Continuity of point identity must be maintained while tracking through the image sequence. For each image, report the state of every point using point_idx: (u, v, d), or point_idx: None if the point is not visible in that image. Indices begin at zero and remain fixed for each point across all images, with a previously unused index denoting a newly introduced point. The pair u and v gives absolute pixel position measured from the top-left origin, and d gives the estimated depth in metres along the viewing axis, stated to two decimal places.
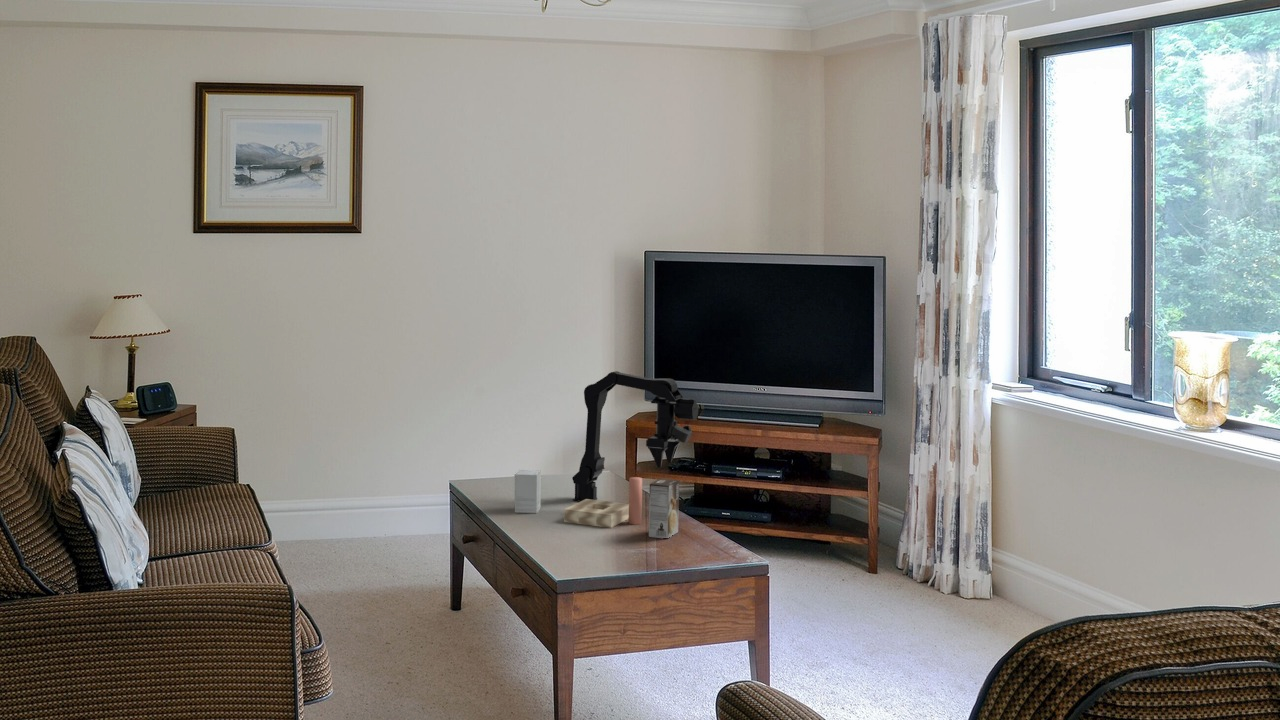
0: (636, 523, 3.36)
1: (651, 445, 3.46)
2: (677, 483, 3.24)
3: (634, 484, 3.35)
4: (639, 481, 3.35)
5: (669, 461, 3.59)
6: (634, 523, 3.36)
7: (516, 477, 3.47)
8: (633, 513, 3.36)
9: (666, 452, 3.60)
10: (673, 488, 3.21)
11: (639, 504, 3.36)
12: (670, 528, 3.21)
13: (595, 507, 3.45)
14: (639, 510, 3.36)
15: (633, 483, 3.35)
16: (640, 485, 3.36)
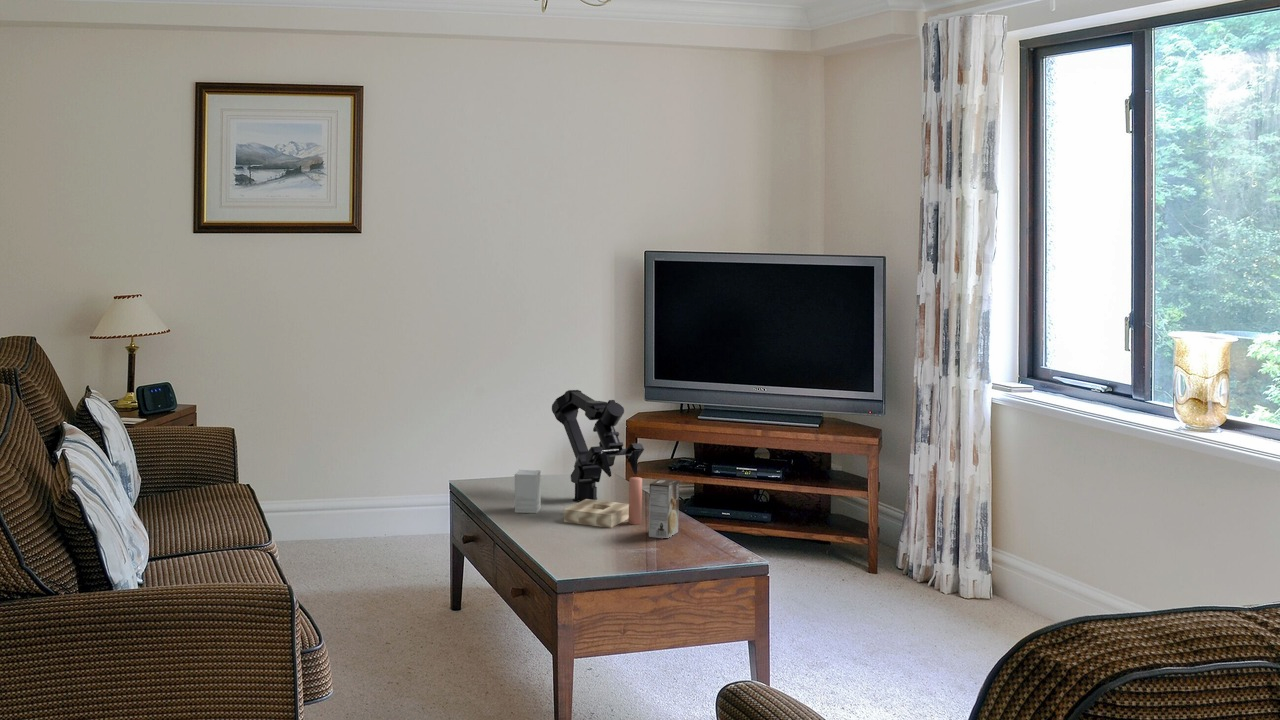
0: (636, 523, 3.36)
1: None
2: (677, 483, 3.24)
3: (635, 484, 3.35)
4: (639, 481, 3.35)
5: None
6: (634, 523, 3.36)
7: (516, 477, 3.47)
8: (633, 513, 3.36)
9: None
10: (673, 488, 3.21)
11: (639, 504, 3.36)
12: (670, 528, 3.21)
13: (595, 507, 3.45)
14: (639, 510, 3.36)
15: (633, 483, 3.35)
16: (640, 485, 3.36)
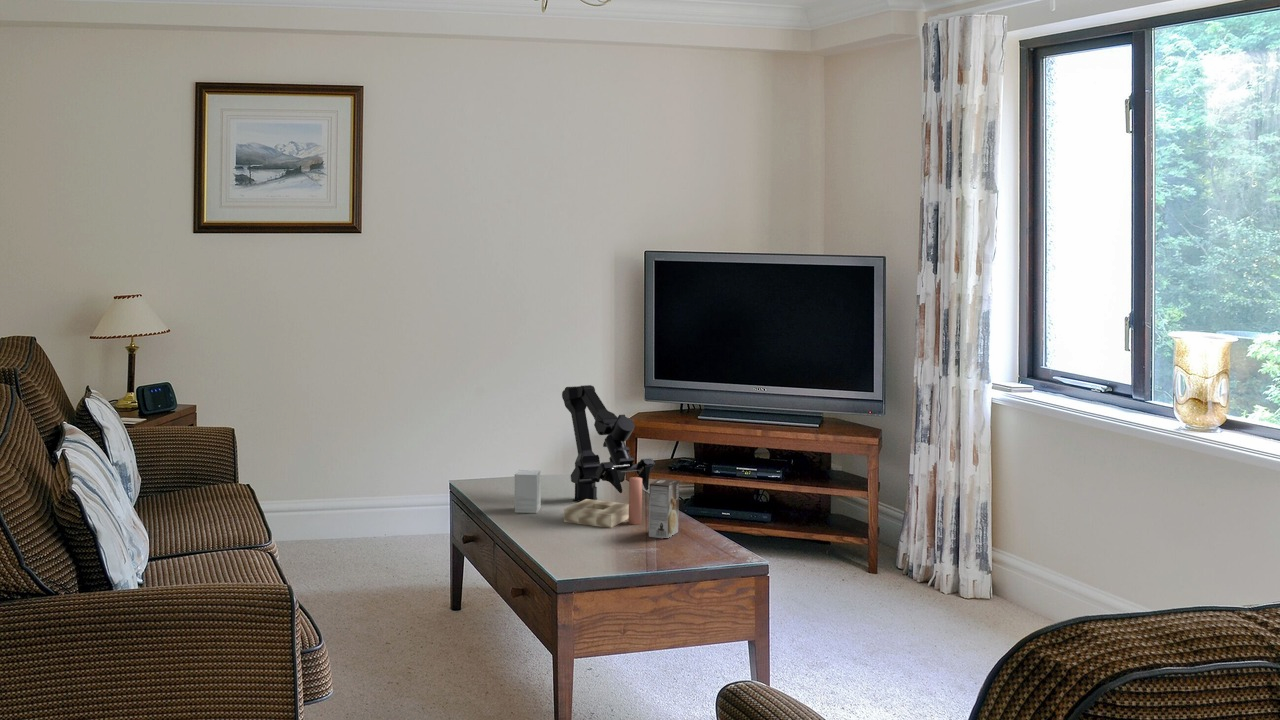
0: (636, 523, 3.36)
1: None
2: (677, 483, 3.24)
3: (634, 483, 3.35)
4: (639, 481, 3.35)
5: None
6: (634, 523, 3.36)
7: (516, 477, 3.47)
8: (633, 513, 3.36)
9: None
10: (673, 488, 3.21)
11: (639, 504, 3.36)
12: (670, 528, 3.21)
13: (595, 507, 3.45)
14: (639, 510, 3.36)
15: (633, 483, 3.35)
16: (640, 485, 3.36)
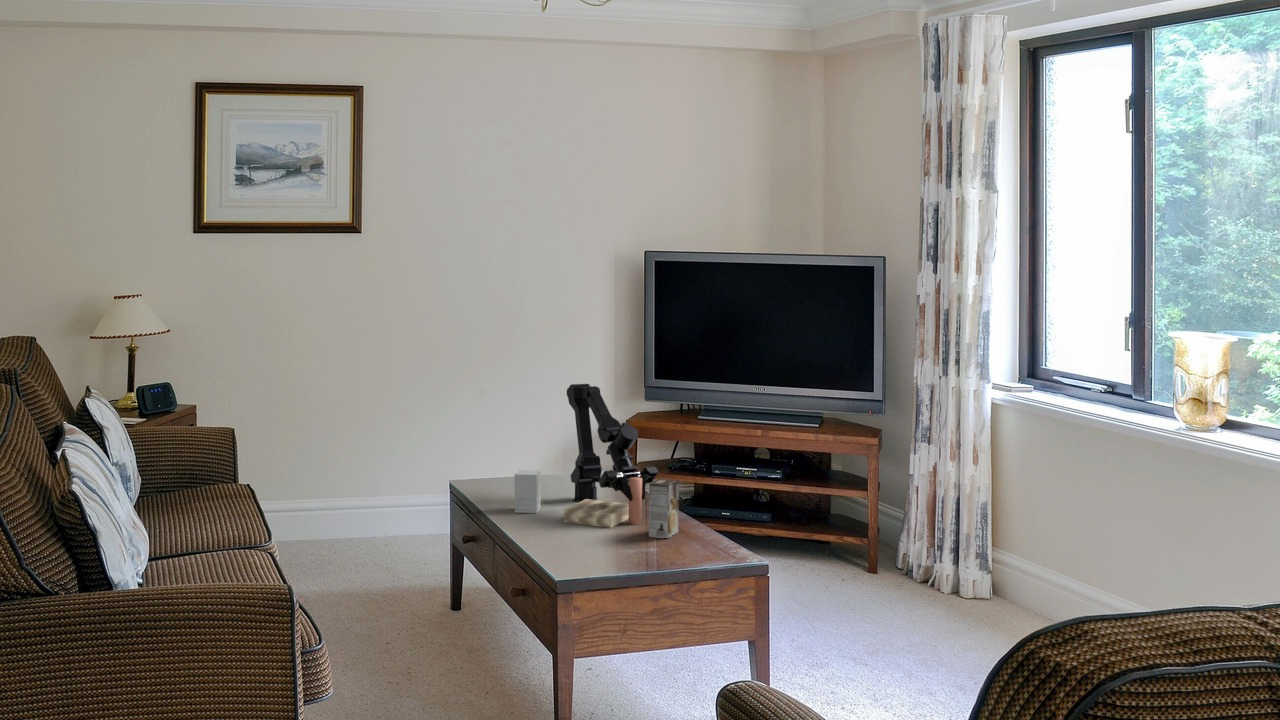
0: (636, 523, 3.36)
1: None
2: (677, 483, 3.24)
3: (634, 484, 3.35)
4: (639, 481, 3.35)
5: None
6: (634, 523, 3.36)
7: (516, 477, 3.47)
8: (633, 513, 3.36)
9: None
10: (673, 488, 3.21)
11: (639, 504, 3.36)
12: (670, 528, 3.21)
13: (595, 507, 3.45)
14: (639, 510, 3.36)
15: (633, 483, 3.35)
16: (640, 485, 3.36)
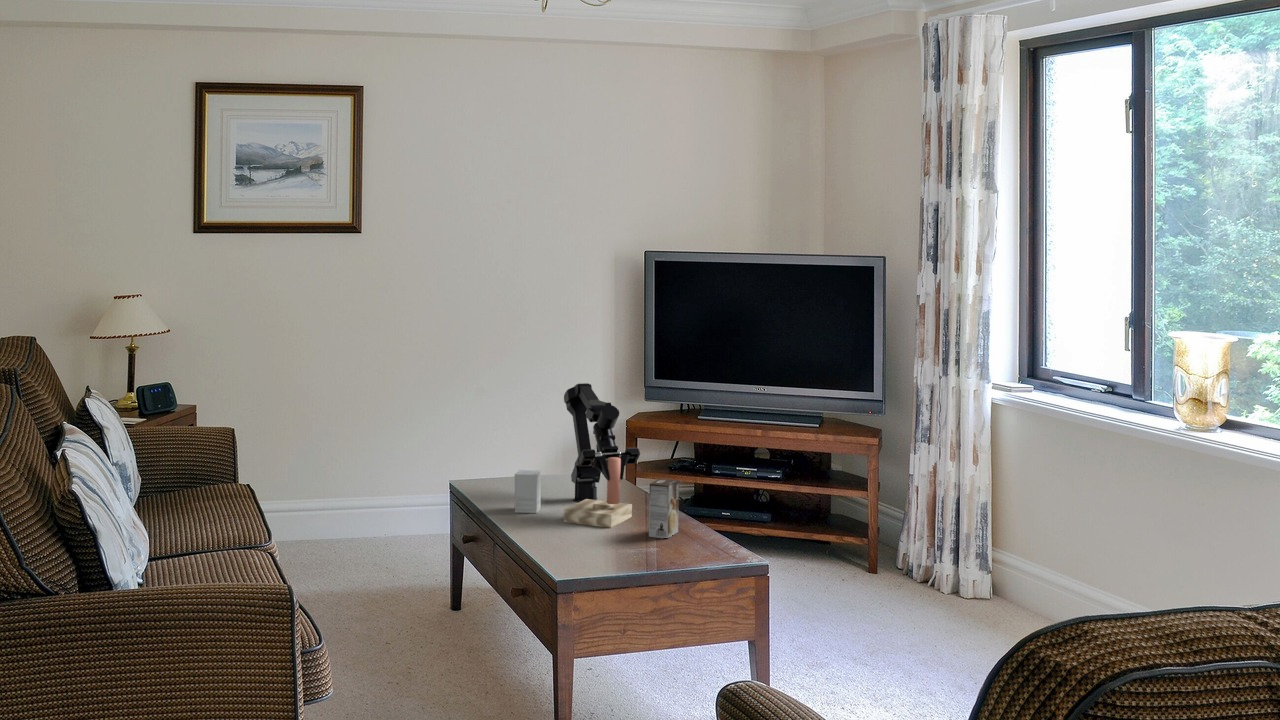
0: (613, 503, 3.37)
1: None
2: (677, 483, 3.24)
3: (612, 463, 3.36)
4: (616, 461, 3.36)
5: None
6: (611, 503, 3.37)
7: (516, 477, 3.47)
8: (611, 493, 3.37)
9: None
10: (673, 488, 3.21)
11: (617, 484, 3.37)
12: (670, 528, 3.21)
13: (595, 507, 3.45)
14: (617, 490, 3.37)
15: (611, 463, 3.36)
16: (618, 465, 3.36)
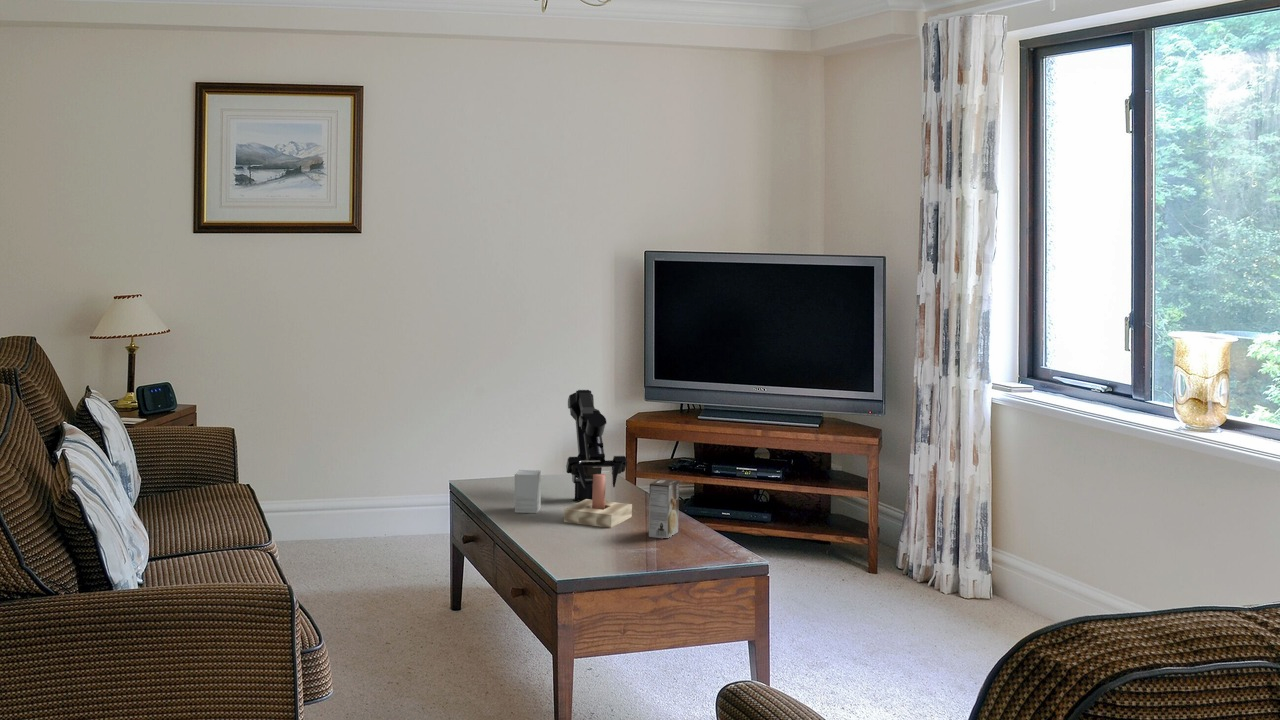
0: None
1: None
2: (677, 483, 3.24)
3: (596, 480, 3.39)
4: (601, 478, 3.39)
5: (585, 486, 3.39)
6: None
7: (516, 477, 3.47)
8: None
9: None
10: (673, 488, 3.21)
11: (601, 501, 3.39)
12: (670, 528, 3.21)
13: None
14: (601, 507, 3.40)
15: (595, 479, 3.39)
16: (602, 482, 3.39)
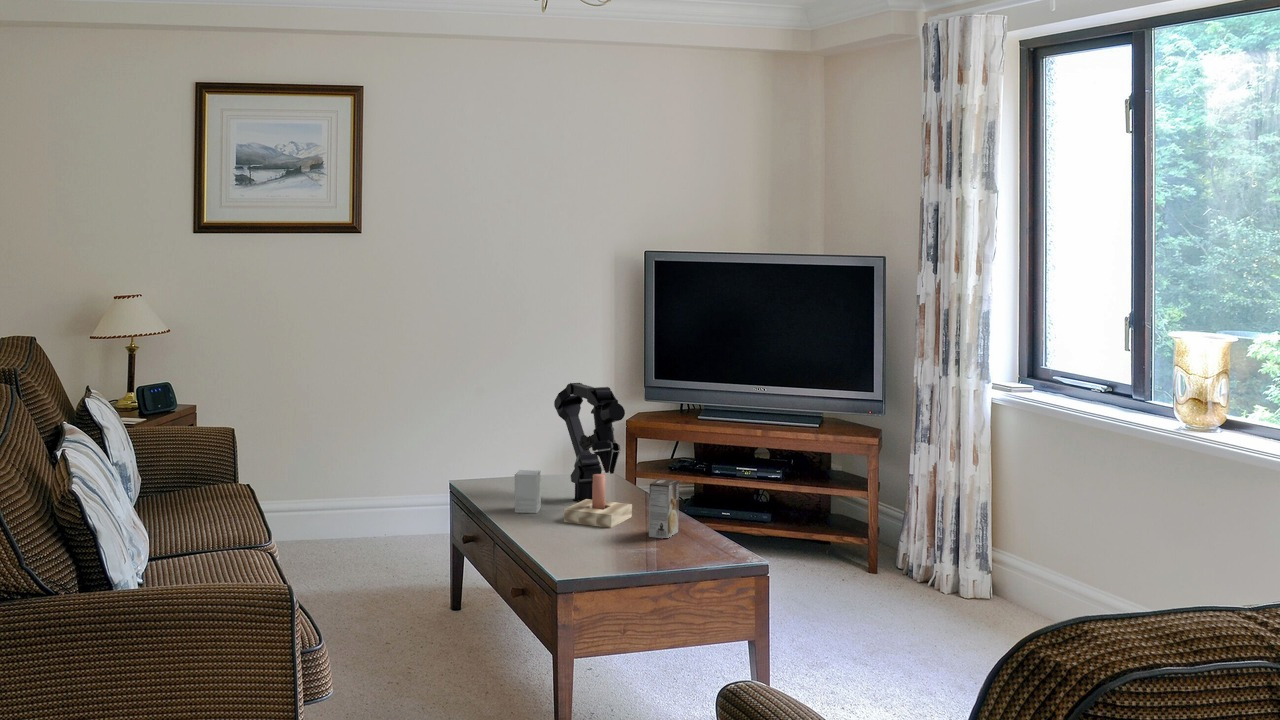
0: None
1: None
2: (677, 483, 3.24)
3: (596, 480, 3.39)
4: (600, 478, 3.39)
5: None
6: None
7: (516, 477, 3.47)
8: None
9: None
10: (673, 488, 3.21)
11: (601, 501, 3.39)
12: (670, 528, 3.21)
13: None
14: (601, 507, 3.40)
15: (595, 479, 3.39)
16: (602, 482, 3.39)
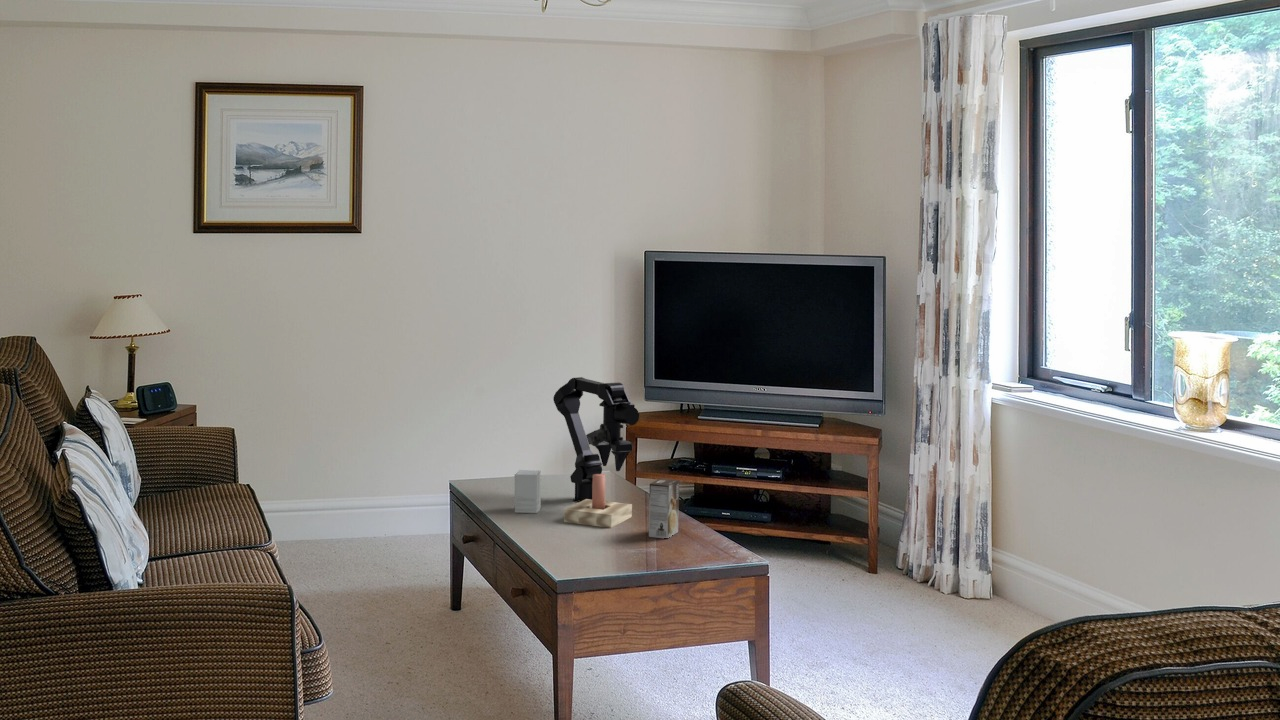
0: None
1: None
2: (677, 483, 3.24)
3: (596, 480, 3.39)
4: (600, 478, 3.39)
5: None
6: None
7: (516, 477, 3.47)
8: None
9: None
10: (673, 488, 3.21)
11: (600, 501, 3.39)
12: (670, 528, 3.21)
13: None
14: (601, 507, 3.40)
15: (595, 479, 3.39)
16: (602, 482, 3.39)
